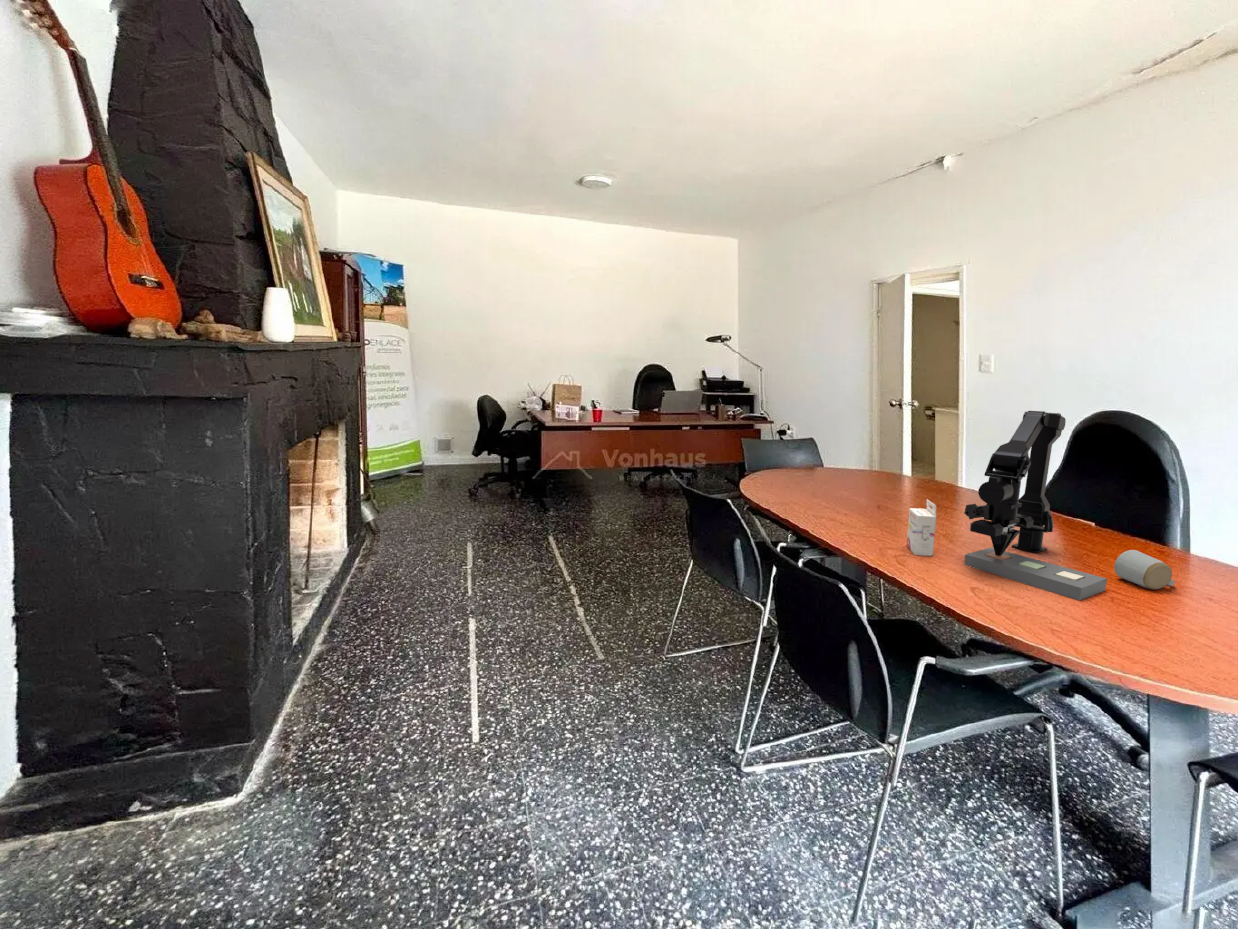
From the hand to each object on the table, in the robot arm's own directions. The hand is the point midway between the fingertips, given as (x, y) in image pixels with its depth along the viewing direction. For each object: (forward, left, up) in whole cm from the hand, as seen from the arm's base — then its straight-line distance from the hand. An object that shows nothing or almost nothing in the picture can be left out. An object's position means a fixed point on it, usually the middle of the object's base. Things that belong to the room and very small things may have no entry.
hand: (998, 555), depth 146 cm
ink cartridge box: (+6, -18, -4) cm, 19 cm away
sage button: (0, +8, -3) cm, 8 cm away
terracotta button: (0, 0, -2) cm, 3 cm away
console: (0, +8, -3) cm, 9 cm away
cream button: (0, +16, -3) cm, 16 cm away
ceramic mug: (-19, +24, -4) cm, 31 cm away
